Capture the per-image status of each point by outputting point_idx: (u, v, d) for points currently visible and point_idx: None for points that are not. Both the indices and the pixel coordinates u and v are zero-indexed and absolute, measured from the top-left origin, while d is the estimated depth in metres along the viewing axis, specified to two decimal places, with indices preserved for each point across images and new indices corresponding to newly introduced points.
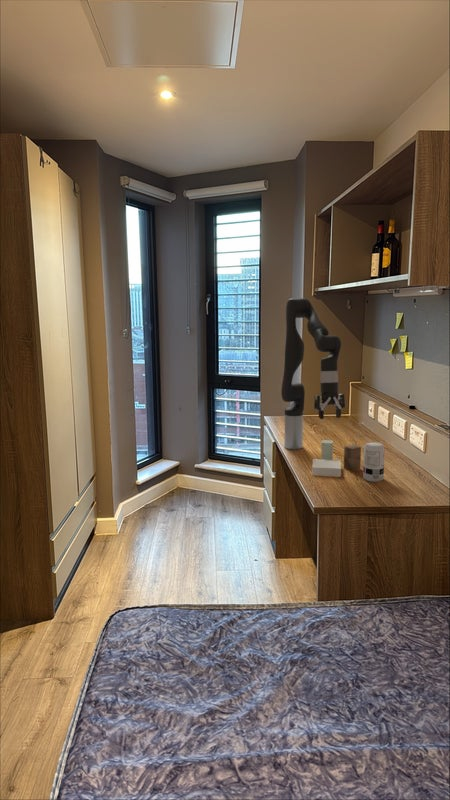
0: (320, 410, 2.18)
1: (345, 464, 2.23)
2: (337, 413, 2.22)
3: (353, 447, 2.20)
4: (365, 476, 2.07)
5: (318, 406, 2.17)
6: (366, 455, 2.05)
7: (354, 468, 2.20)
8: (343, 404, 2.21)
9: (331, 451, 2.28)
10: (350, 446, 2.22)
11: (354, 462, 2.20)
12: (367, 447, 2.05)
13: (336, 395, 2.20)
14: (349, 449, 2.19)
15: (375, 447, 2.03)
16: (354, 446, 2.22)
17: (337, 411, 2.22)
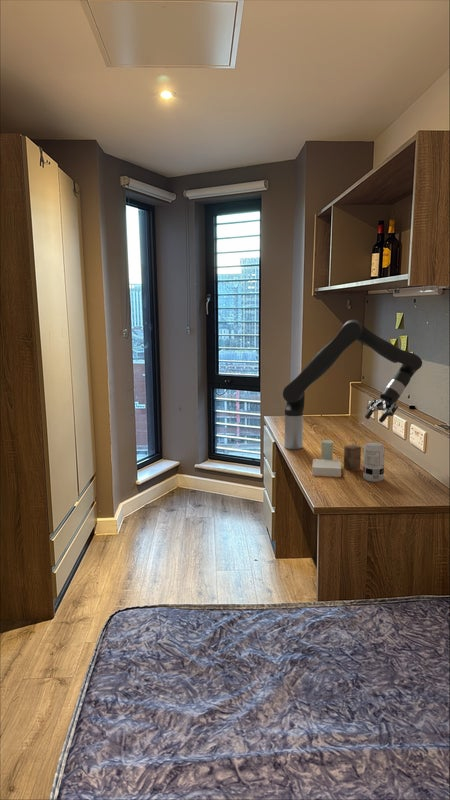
0: (387, 416, 2.21)
1: (345, 464, 2.23)
2: (369, 415, 2.28)
3: (353, 447, 2.20)
4: (365, 476, 2.07)
5: None
6: (366, 455, 2.05)
7: (354, 468, 2.20)
8: None
9: (331, 451, 2.28)
10: (350, 446, 2.22)
11: (354, 462, 2.20)
12: (367, 447, 2.05)
13: None
14: (349, 449, 2.19)
15: (375, 447, 2.03)
16: (354, 446, 2.22)
17: (370, 413, 2.29)
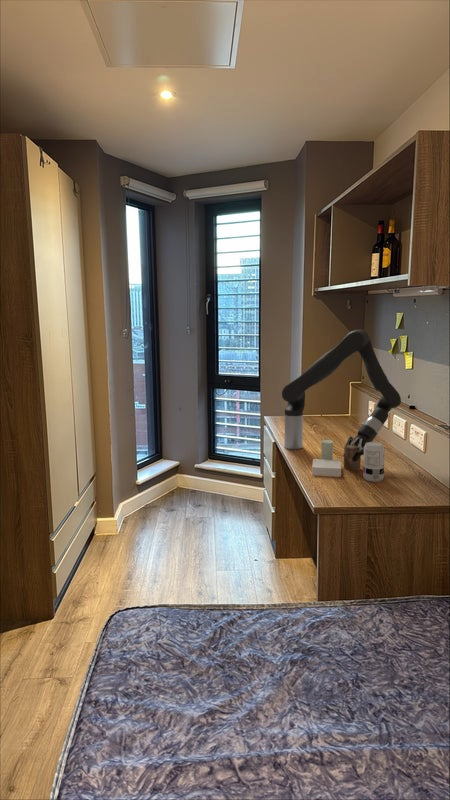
0: (360, 455, 2.19)
1: (345, 464, 2.23)
2: None
3: (353, 447, 2.20)
4: (365, 476, 2.07)
5: None
6: (366, 455, 2.05)
7: (354, 468, 2.20)
8: None
9: (331, 451, 2.28)
10: (350, 446, 2.22)
11: (354, 462, 2.20)
12: (367, 447, 2.05)
13: None
14: (349, 449, 2.19)
15: (375, 447, 2.03)
16: (354, 446, 2.22)
17: None
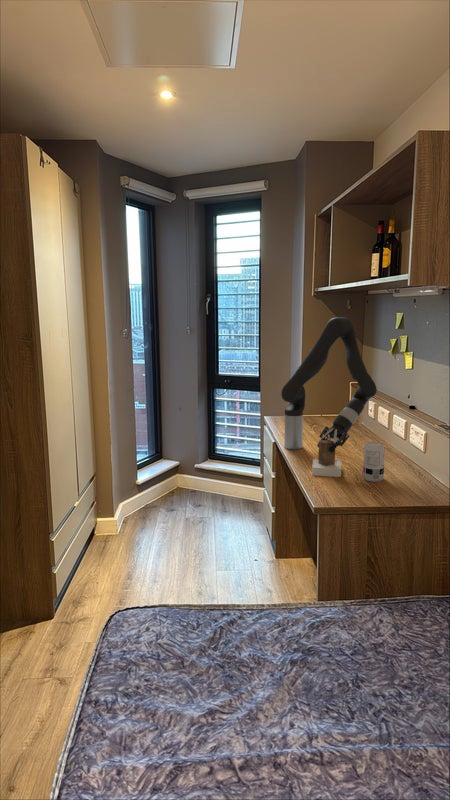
0: (337, 445, 2.14)
1: (319, 459, 2.19)
2: None
3: (327, 442, 2.16)
4: (365, 476, 2.07)
5: None
6: (366, 455, 2.05)
7: (328, 463, 2.16)
8: None
9: None
10: (324, 441, 2.18)
11: (328, 457, 2.16)
12: (367, 447, 2.05)
13: None
14: (323, 444, 2.15)
15: (375, 447, 2.03)
16: (329, 441, 2.18)
17: None
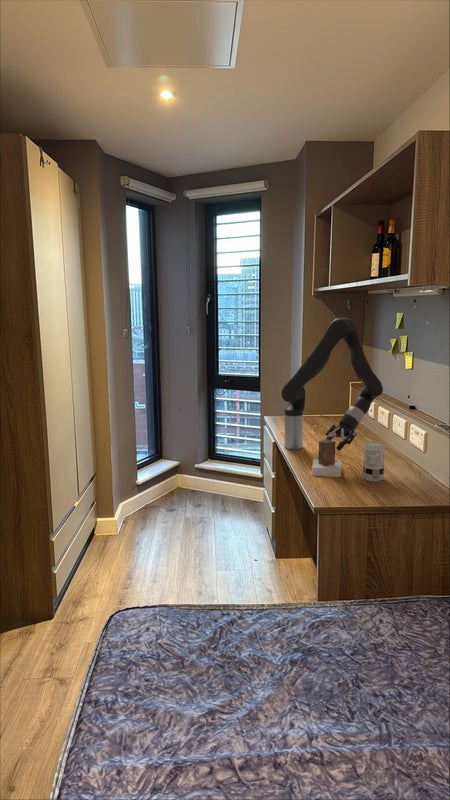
0: (345, 444, 2.15)
1: (319, 459, 2.19)
2: None
3: (327, 442, 2.16)
4: (365, 476, 2.07)
5: None
6: (366, 455, 2.05)
7: (328, 463, 2.16)
8: None
9: None
10: (325, 441, 2.18)
11: (328, 457, 2.16)
12: (367, 447, 2.05)
13: None
14: (323, 444, 2.16)
15: (375, 447, 2.03)
16: (329, 441, 2.18)
17: None
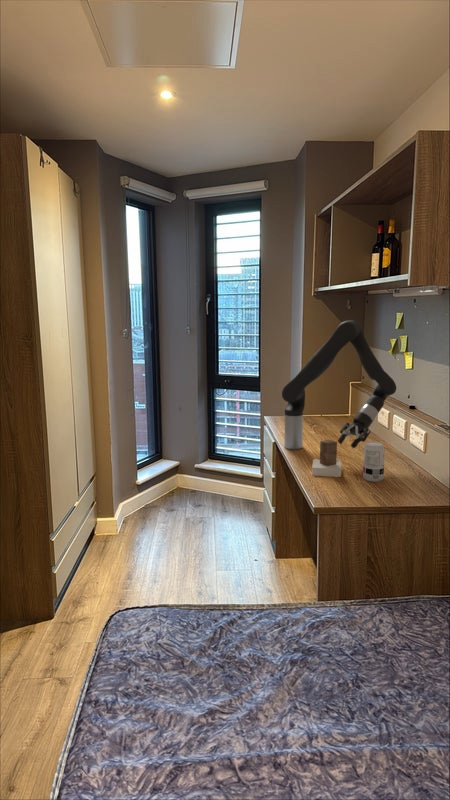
0: (359, 441, 2.19)
1: (321, 459, 2.19)
2: (342, 439, 2.26)
3: (329, 442, 2.16)
4: (365, 476, 2.07)
5: None
6: (366, 455, 2.05)
7: (330, 463, 2.16)
8: None
9: None
10: (326, 441, 2.17)
11: (330, 457, 2.15)
12: (367, 447, 2.05)
13: None
14: (325, 444, 2.15)
15: (375, 447, 2.03)
16: (330, 441, 2.17)
17: (343, 438, 2.26)
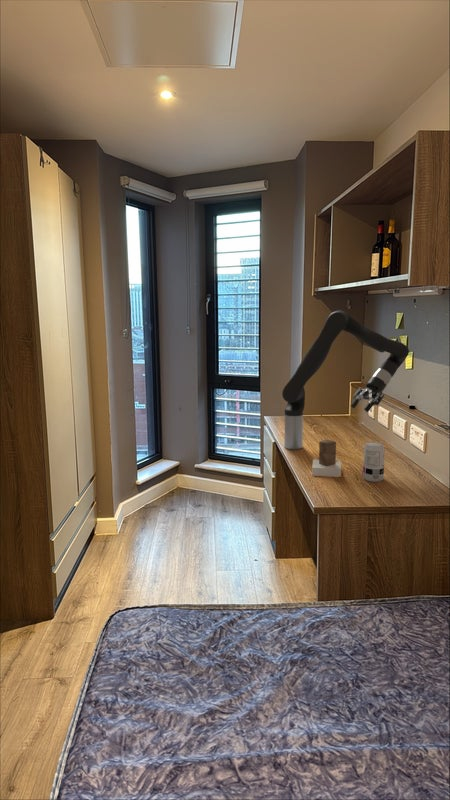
0: (373, 405, 2.18)
1: (320, 460, 2.19)
2: (355, 404, 2.25)
3: (328, 442, 2.16)
4: (365, 476, 2.07)
5: None
6: (366, 455, 2.05)
7: (329, 463, 2.16)
8: None
9: None
10: (325, 441, 2.17)
11: (329, 457, 2.16)
12: (367, 447, 2.05)
13: None
14: (324, 444, 2.15)
15: (375, 447, 2.03)
16: (329, 441, 2.18)
17: (356, 402, 2.25)
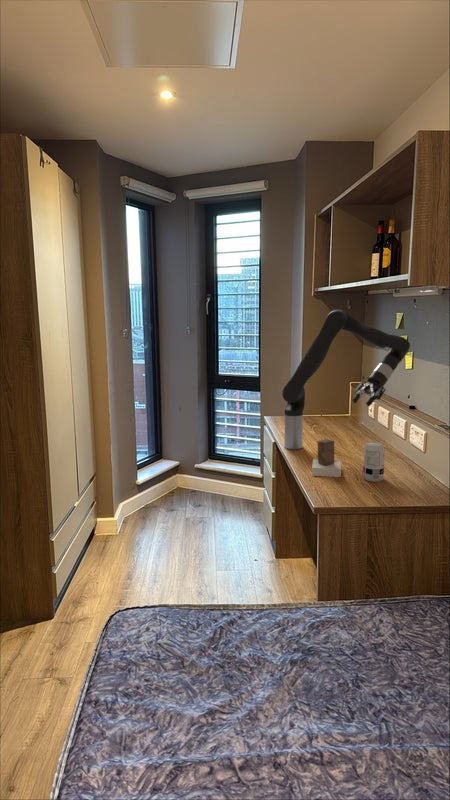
0: (374, 399, 2.18)
1: (319, 459, 2.19)
2: (356, 398, 2.25)
3: (326, 441, 2.16)
4: (365, 476, 2.07)
5: None
6: (366, 455, 2.05)
7: (328, 463, 2.16)
8: None
9: None
10: (323, 440, 2.18)
11: (328, 457, 2.16)
12: (367, 447, 2.05)
13: None
14: (322, 443, 2.15)
15: (375, 447, 2.03)
16: (327, 440, 2.18)
17: (357, 397, 2.25)
